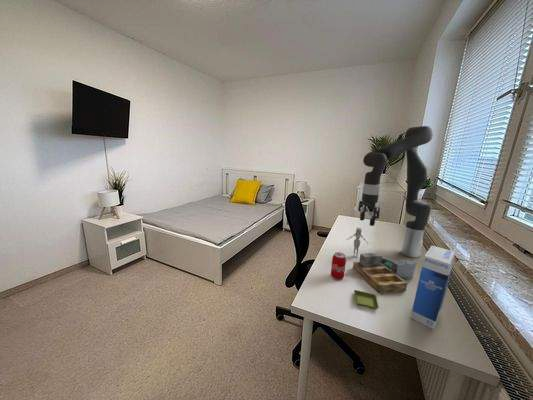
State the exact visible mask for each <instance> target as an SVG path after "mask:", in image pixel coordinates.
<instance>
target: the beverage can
mask: <svg viewBox="0 0 533 400" xmlns="http://www.w3.org/2000/svg"><path fill="white" fill-rule="evenodd" d="M346 264H347V256H346V255H345V253H342V252H334V253H333V255H332V261H331V269H330V276H331V277H332V278H333V279H334V280H336V281H337V280H339V281H340V280H343V279H344V278H345V272H346Z"/></svg>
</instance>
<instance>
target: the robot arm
mask: <svg viewBox="0 0 533 400" xmlns="http://www.w3.org/2000/svg"><path fill="white" fill-rule="evenodd" d="M433 136H434V130H433V128H432V127H431V126H429V125H419V126H413V127H409V128H408V129H407V130H406V131H405V134H404V138H402V139H399V140H396V141H393V142H391V143H388V144H387V145H385V146H383V147H382V148H378V149H375V150H374V149H373V150H372V151H369V152H368V153H366V154H365V156H364V157H363V160H362V161H363V164H364V165H365V166H366V167H368V168H370V167H371V168H372V170H371V171H367V172H366V173H365V174H364V181H363V187H362V194H361V200H359V202H358V209H357V211H358V212H359V214H360V215H359V220H360V221H365V219H366V218H365V217H366V212H367V213H368V214H367V215H368V216H369V217H370V219H369V226H370V227H373V226H375V224H376V220H378V219H380V213H381V212H380V211H381V208H380V207H381V206H376V204H377V203H378V202H379V194H380V183H381V176H382V174H383V172H384V169H385V167H386V166H387V162H388V161H389V160H392V159H394V158H396V157H397V156H399V155H401V154H403V153H405V152H406V185H407V186H406V200H405V213H406V214H407V215H409V216H412V217H415V219H414V220H408V221H407V222H406V223H405V229H404V233H403V239H402V245H401V249H400V253H401V254H402V255H404V256H406V257H409V258H415V259H416V258H419V257H420V256H421V253H422V249H423V245H424V244H423V243H424V241H423V236H424V233H425V228H426V226H427V224H428V221H429V218H430V214H431V210H432V209H431V208H432V207H431V205H430V204H429V203H427V202H424V201H419V199H418V197H419V192H420V190H421V189H422V187H423V186H425V184H426V182H427V179H428V165H426V163H425V161H424V160H423V158H422V156H421V155H420V153H419V150H418V147H420V146H422V145H423V146H424V145H427V144H428V143H430V141H432V138H433Z"/></svg>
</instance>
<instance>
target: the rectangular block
mask: <svg viewBox="0 0 533 400" xmlns="http://www.w3.org/2000/svg"><path fill="white" fill-rule="evenodd" d="M390 270H391V271H392V272H394V273H395V274H396V275H398V276H399V277H400V278H402V279H403V280H409V279H413V278H414V273H415V270H416V262H413V261H412V260H409V259H408V260H407V259H405V260H397V261H396V260H394V261H392V267H391V269H390Z"/></svg>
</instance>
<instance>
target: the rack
mask: <svg viewBox="0 0 533 400" xmlns="http://www.w3.org/2000/svg"><path fill="white" fill-rule="evenodd" d="M382 258H383V255H382V254H380V253H379V252H368V253H360V255H359V260H358V261H353V264H352V270H353V271H354V272H355V273H356V274H357V275H358V276H360V278H361V279H362V280H363V281H365V282H366V283H367V285H369V287H371V288H372V289H373V290H374V291H375V292H376V293H377V294H386V293H387V294H388V293H396V292H397V293H398V292H406V291H407V286H408V282H407V281H406V280H405V279H402V278H400V277H399V276H398V275H396V274H395V273H394V272H392V271H391V269H388V268H387V267H386V266H384V265H383V264H382V263H381V261H382Z"/></svg>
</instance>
